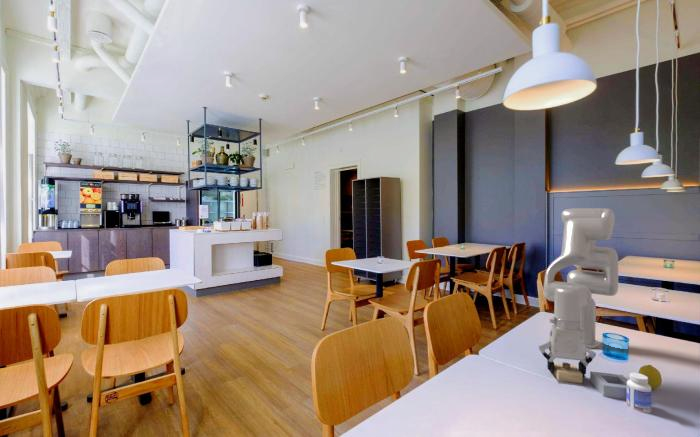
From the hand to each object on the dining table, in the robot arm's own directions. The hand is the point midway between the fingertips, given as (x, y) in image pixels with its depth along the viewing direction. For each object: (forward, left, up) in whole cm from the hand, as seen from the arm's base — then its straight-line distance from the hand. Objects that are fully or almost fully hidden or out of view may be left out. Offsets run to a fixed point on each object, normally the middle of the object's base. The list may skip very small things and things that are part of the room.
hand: (566, 373), depth 111 cm
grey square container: (+6, +11, -2) cm, 13 cm away
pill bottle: (+14, +14, -2) cm, 20 cm away
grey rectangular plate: (0, 0, -2) cm, 2 cm away
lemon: (+1, +23, -2) cm, 23 cm away
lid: (0, 0, -1) cm, 1 cm away
